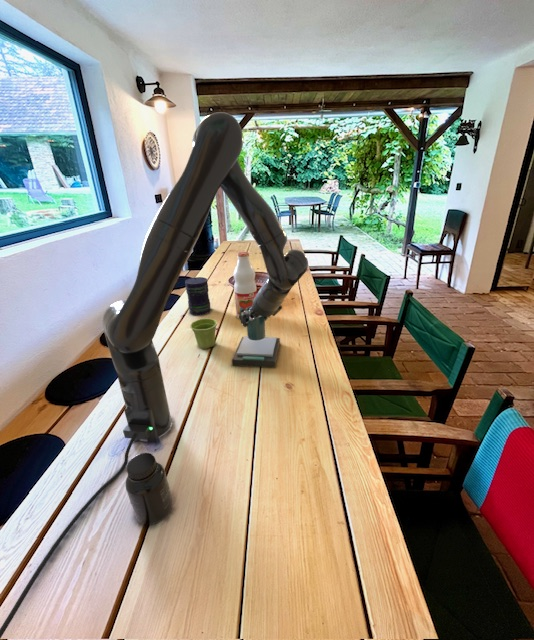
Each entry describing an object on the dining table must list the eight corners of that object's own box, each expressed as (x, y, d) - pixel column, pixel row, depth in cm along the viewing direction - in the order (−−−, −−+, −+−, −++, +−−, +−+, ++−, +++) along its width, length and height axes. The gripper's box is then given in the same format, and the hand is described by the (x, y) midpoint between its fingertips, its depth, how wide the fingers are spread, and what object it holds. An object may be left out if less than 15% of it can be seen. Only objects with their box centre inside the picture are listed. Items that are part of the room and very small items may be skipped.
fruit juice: (251, 310, 148) (247, 249, 136) (261, 317, 140) (258, 253, 129) (233, 315, 143) (227, 252, 132) (242, 322, 136) (237, 256, 124)
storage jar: (213, 313, 146) (209, 281, 140) (191, 317, 143) (186, 285, 137) (208, 306, 154) (204, 276, 148) (187, 309, 151) (183, 279, 145)
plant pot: (214, 352, 114) (211, 330, 110) (189, 350, 116) (186, 328, 112) (222, 339, 122) (220, 319, 119) (199, 338, 124) (196, 317, 120)
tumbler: (264, 340, 106) (262, 312, 101) (246, 340, 106) (244, 312, 102) (266, 332, 111) (265, 305, 107) (249, 332, 112) (247, 305, 108)
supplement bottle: (159, 486, 65) (148, 441, 60) (180, 505, 61) (169, 459, 56) (128, 511, 61) (113, 465, 56) (148, 534, 57) (133, 487, 52)
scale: (274, 367, 103) (274, 359, 102) (232, 365, 105) (231, 357, 104) (279, 343, 118) (279, 335, 116) (242, 342, 120) (241, 334, 118)
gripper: (285, 283, 98) (268, 307, 112) (241, 293, 92) (230, 316, 106) (294, 305, 96) (276, 326, 110) (251, 316, 90) (237, 337, 104)
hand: (253, 321), depth 108 cm, fingers closed on tumbler, 6 cm apart
